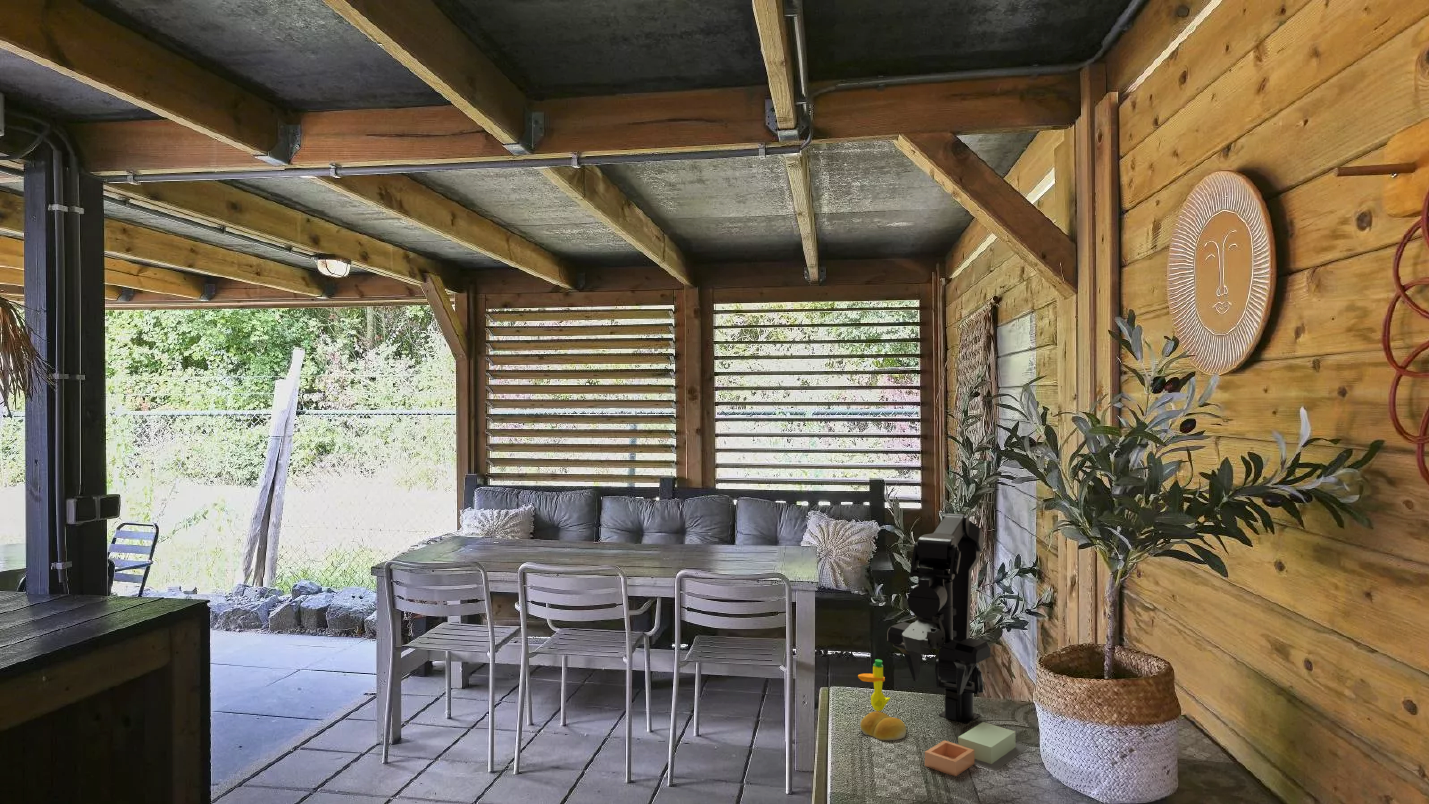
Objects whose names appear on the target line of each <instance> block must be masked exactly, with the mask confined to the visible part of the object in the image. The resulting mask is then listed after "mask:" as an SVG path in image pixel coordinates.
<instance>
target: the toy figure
mask: <svg viewBox="0 0 1429 804" xmlns="http://www.w3.org/2000/svg"><path fill="white" fill-rule="evenodd" d="M857 678H858V679H859V680H860V681H862V682H868V683H873V689H874V690H873V691H874V692H873V693H872V694H871V696H870V704H871V707H872V708H873V710H874V711H879V712H883V710H884V708H885V707H886V705H887V704H888V703H889V701H890V699H891V697H886V696H885V694H884V693H883V685H884V682H886V679H885V678H886V677H885V676H884V665H883V660H882V659H879V658H877V659H874V663H873V664H872V673H860V674H858V675H857Z"/></svg>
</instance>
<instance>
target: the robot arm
mask: <svg viewBox="0 0 1429 804" xmlns="http://www.w3.org/2000/svg"><path fill="white" fill-rule="evenodd" d="M981 529H982V528H981V527H980V526H978V525H976V524H975V523H973V522H972V521H971V520H970V518H969V516H968V515H966V514H962V513H946V514H943V515H942V517H941V522H940V523H939V524H938V526H937V527H936V528H935V530H934V531H933V532H932V533H927V534H923V535H920V536H919V538H917V541H916V542H914V545H913V551H912V559H911V564H910V570H909V576H910V577H913V578H914V577H915V578H916V577H917V578H918V579H917V585H915V586H914V587H913V588H912V589H911V590H910V592H909V594H908V596H907V606H908V608H909V609H910V611H911V613H913V614H914V615H915V617H916V618H915V620H914V622H912V623H908V622H905V621H902V622H900V623H896V624H894V625H891V626H890V627H889V628H888V629H887V632H886V633H887V634H886V635H887V637H886V638H887V639H886V641H887V643H890V644H892V646H893V648H896V649H898V650H899V651H900V652H901V653H902V654H903V656H904V659H905V661H906V663H907V667H908V669H909V672H910V675H911V677H912V680H913V682H916V683H917V682H918V681H919V679H920V674H921V660H922V655H923V656H925V655H928V654H930V653H931V650H932V649H935V650H938V658H936V661H935V666H934V669H935V670H934V671H935V672H934V673H935V683H936V688H937V689H944V711H942V712H940V713H939V714H938V717H941V718H944V719H948V720H951V721H954V722H956V723H957V722H958V723H961V724H965V725H967V724H969V723H971V722H973V721H974V720H976V719H978V718H980V717H981V714H979V713H976V712H974V711H975V709H974V707H975V706H974V703H975V702H974V699H975V698H974V694H975V695H979V693H983V692H984V679H983V674H982V671H981V669H980V665H979V663H981V662H983V661H985V660H987V659H989V658H991V647H990V644H989V643H988V642H987V641H986V640H980V639H977V638H973V637H970V634H971V633H970V629H971V627H970V626H971V604H972V603H971V602H972V600H971V599H972V598H971V597H972V576H973V570H974V569H975V568H976V566H977V564H978V563H979V561H980V559H981V553H982V552H983V551H984V537H983V533H982V530H981Z"/></svg>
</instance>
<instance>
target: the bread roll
mask: <svg viewBox="0 0 1429 804" xmlns="http://www.w3.org/2000/svg"><path fill="white" fill-rule="evenodd" d="M859 726H860V730H861V731H862V733H863V734H864V735H865V736H867V737H868V736H871V737H873V738H875V739H877V740H880V741H895V740H896V741H897V740H901V739H903V738H905V737H906V735H907V727H906V725H905V722H903V720H901V719H900V718H898V717H893V716H889V715H888V714H887V713H885V712H883V711H875V710H874V711H872V712H869V713H868V714H867V715H865V716H863V718H862V719H861V720H860V723H859Z"/></svg>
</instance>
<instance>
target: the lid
mask: <svg viewBox="0 0 1429 804" xmlns="http://www.w3.org/2000/svg"><path fill="white" fill-rule="evenodd" d="M957 741H958V742H957V744H958V745H961V746H964V747H967V748H970V749H973V750H974V759H977V760H981V761H984V762H987V763H990V764H992V763H994V762H995V761H997V760H998V759H999V758H1001V757H1002V756H1004V755H1005V754H1007V753H1008V752H1009V751H1011V750H1012V749H1014V748H1015V747H1016V743H1017V742H1016V730H1011V729H1008V728H1004V727H1001V726H999V725H995V724H991V723H988V722H984V721H982V722H981V723H979V724H978V725H975V726H974V727H972V728H971V729H969V730H968V731H966V732H964V733H962V734H961V735H959V736H958V738H957Z"/></svg>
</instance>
